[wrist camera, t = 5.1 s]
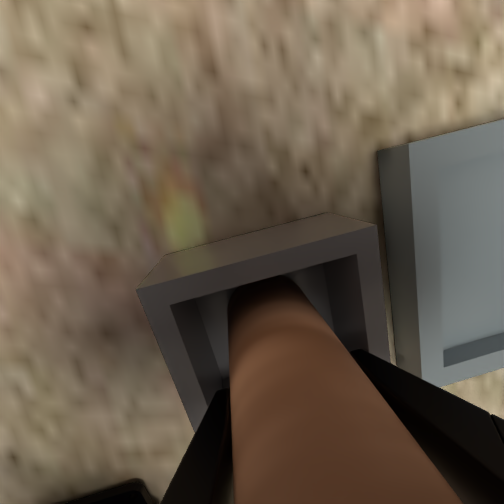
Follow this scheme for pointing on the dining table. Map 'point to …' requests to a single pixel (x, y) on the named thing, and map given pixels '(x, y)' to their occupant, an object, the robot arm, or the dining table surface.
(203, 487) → the robot arm
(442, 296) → the slate tray
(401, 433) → the dowel pin
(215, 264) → the grey square bin
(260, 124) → the dining table surface
